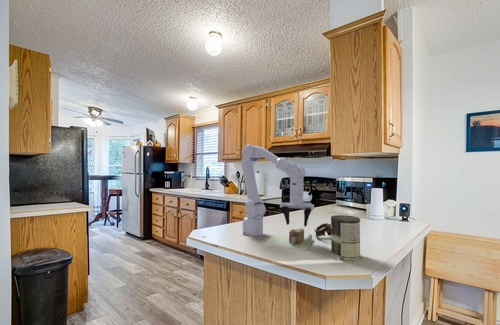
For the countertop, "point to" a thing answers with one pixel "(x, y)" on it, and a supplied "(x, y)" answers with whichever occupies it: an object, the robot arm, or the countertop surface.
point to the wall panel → (284, 242)
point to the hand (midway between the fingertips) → (296, 225)
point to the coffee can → (345, 237)
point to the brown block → (296, 235)
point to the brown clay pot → (323, 230)
